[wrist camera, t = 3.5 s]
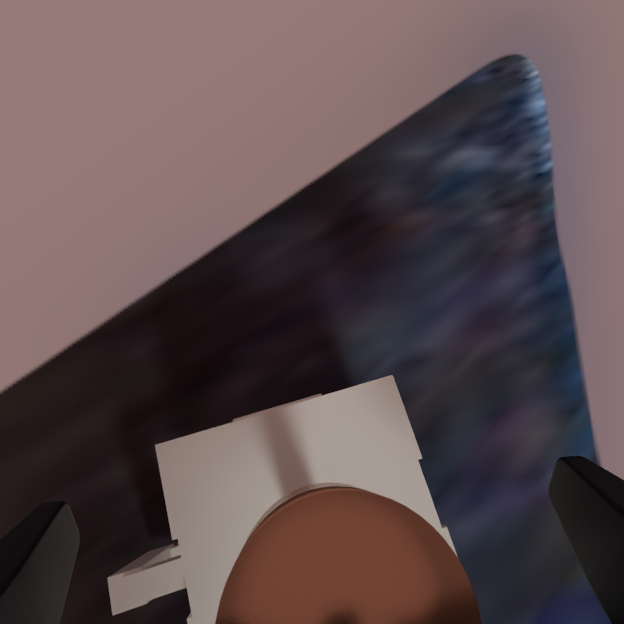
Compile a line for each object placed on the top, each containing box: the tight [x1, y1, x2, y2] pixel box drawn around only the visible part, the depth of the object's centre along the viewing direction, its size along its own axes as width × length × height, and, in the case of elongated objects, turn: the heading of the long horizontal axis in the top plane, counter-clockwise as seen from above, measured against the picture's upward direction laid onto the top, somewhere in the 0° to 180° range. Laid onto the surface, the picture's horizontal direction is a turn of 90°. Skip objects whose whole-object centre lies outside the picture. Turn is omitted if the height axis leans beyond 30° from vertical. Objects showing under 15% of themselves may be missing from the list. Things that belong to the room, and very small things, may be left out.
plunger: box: [215, 482, 481, 624], centre depth 10 cm, size 5×5×9 cm
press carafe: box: [107, 375, 458, 624], centre depth 16 cm, size 8×10×6 cm
